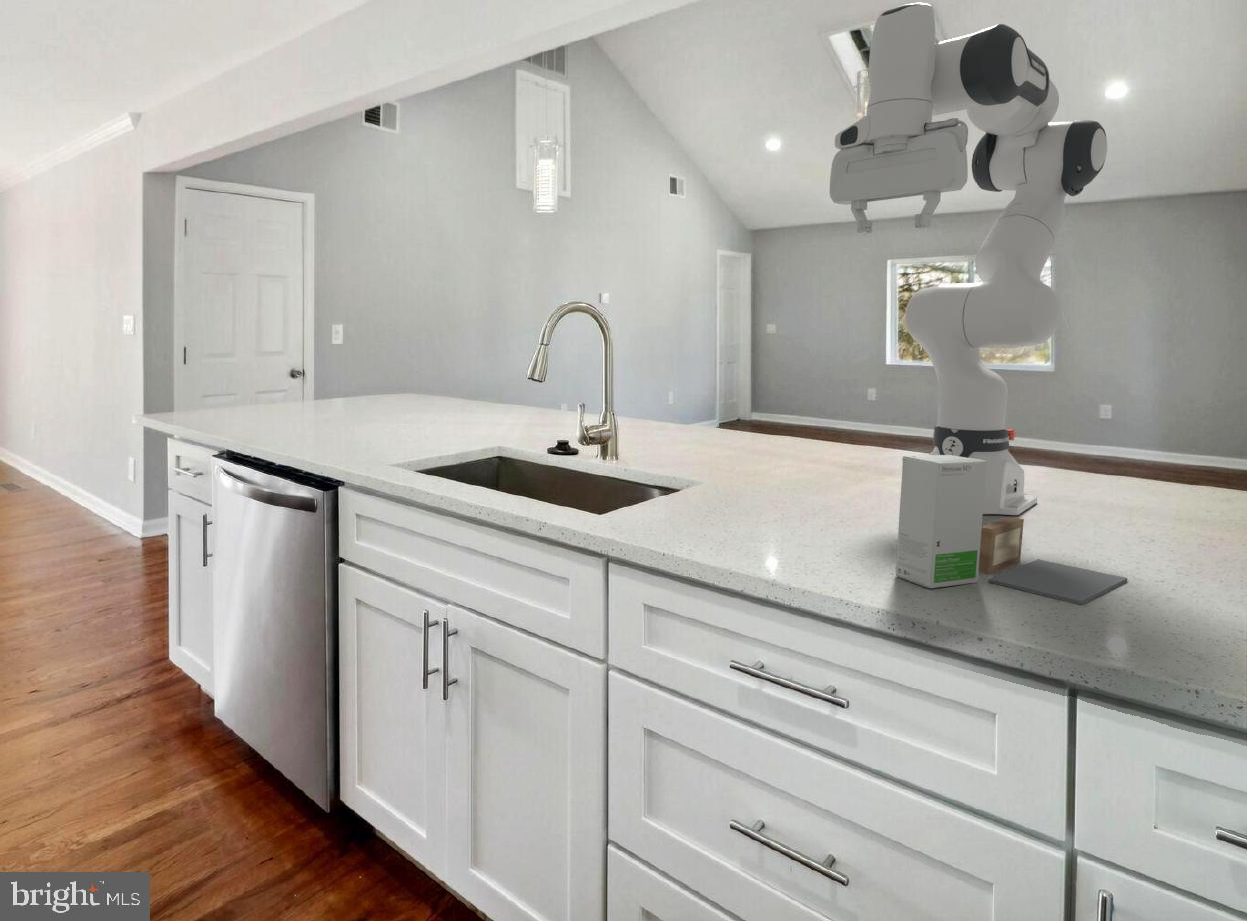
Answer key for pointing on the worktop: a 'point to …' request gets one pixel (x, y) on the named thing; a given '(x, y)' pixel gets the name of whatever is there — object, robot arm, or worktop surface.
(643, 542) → the worktop surface
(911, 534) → the skincare box
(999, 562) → the walnut slab
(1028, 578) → the slate mat
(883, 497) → the worktop surface
